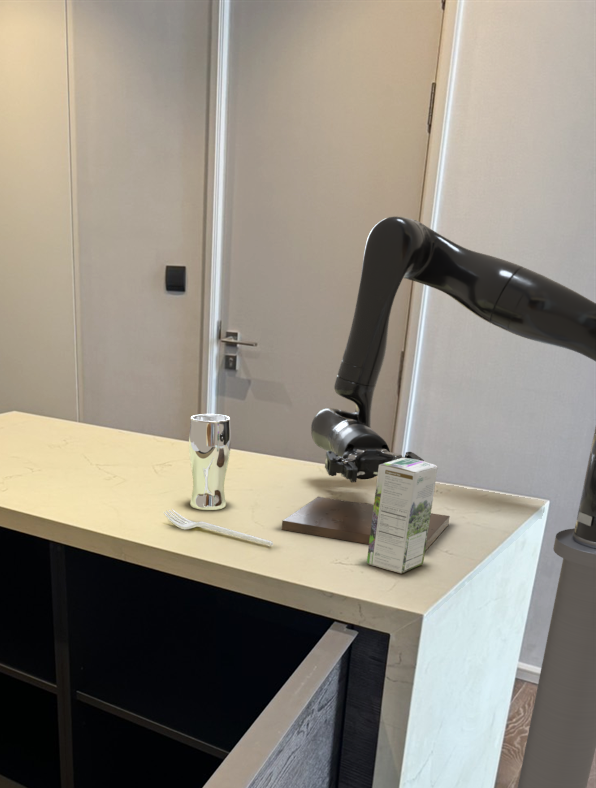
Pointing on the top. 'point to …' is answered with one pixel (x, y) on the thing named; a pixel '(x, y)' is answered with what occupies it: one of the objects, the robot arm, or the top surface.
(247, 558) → the top surface
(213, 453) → the beer glass
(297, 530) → the walnut board
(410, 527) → the syrup box
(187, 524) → the fork
